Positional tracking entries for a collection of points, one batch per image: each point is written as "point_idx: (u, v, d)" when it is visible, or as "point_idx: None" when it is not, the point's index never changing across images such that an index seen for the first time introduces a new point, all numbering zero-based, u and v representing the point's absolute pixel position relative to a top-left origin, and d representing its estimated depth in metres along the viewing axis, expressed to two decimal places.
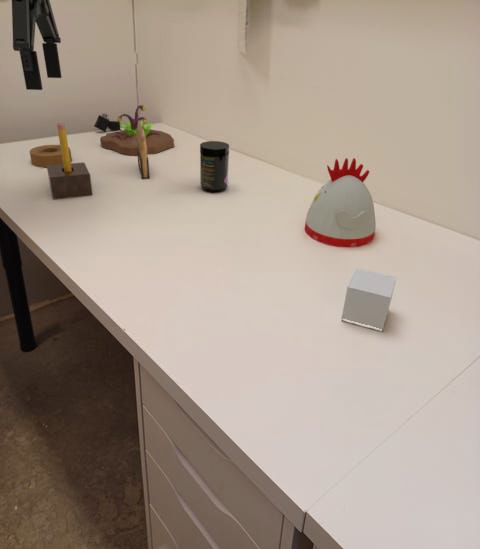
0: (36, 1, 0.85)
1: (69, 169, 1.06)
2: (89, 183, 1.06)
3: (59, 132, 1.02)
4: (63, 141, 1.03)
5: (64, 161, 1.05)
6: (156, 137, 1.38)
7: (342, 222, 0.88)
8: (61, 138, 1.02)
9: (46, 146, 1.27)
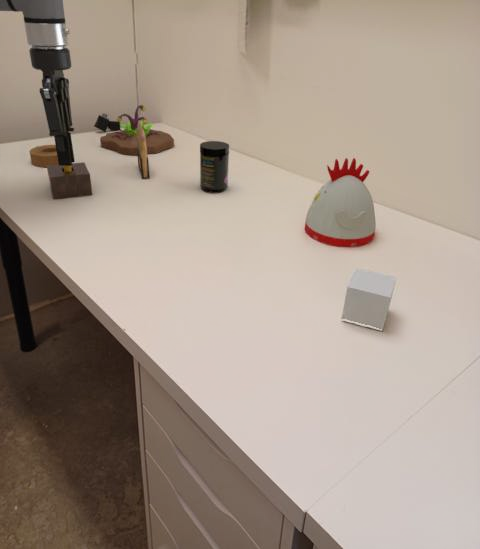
0: (60, 89, 0.96)
1: (69, 169, 1.06)
2: (89, 183, 1.06)
3: None
4: None
5: None
6: (156, 137, 1.38)
7: (342, 222, 0.88)
8: None
9: (46, 146, 1.27)
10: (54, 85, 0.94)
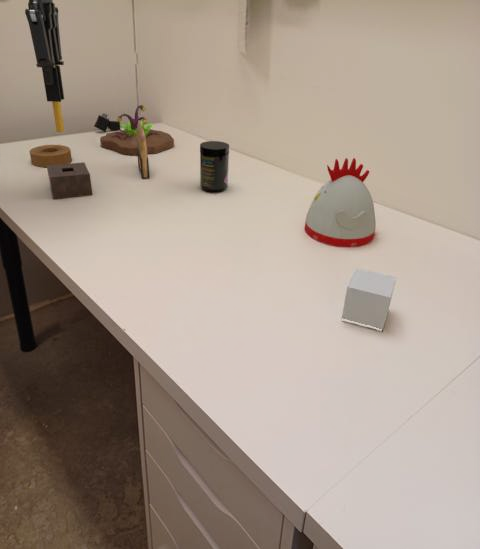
0: (48, 14, 0.90)
1: (58, 106, 1.00)
2: (89, 183, 1.06)
3: None
4: None
5: None
6: (156, 137, 1.38)
7: (342, 222, 0.88)
8: None
9: (46, 146, 1.27)
10: (41, 7, 0.88)
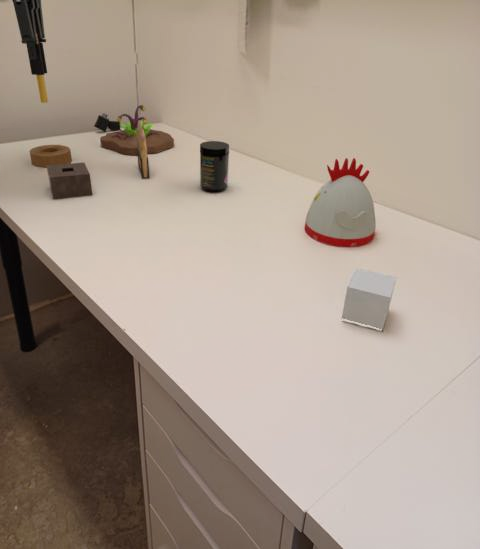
0: None
1: (42, 79, 1.12)
2: (89, 183, 1.06)
3: None
4: None
5: None
6: (156, 137, 1.38)
7: (342, 222, 0.88)
8: None
9: (46, 146, 1.27)
10: None
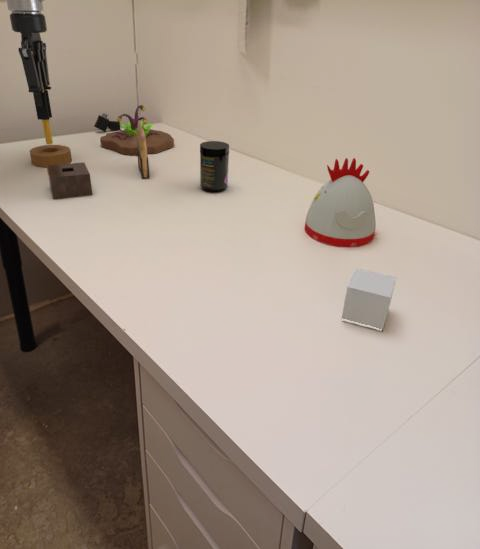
0: (37, 50, 1.11)
1: (47, 123, 1.21)
2: (89, 183, 1.06)
3: None
4: None
5: None
6: (156, 137, 1.38)
7: (342, 222, 0.88)
8: None
9: (46, 146, 1.27)
10: (31, 46, 1.09)
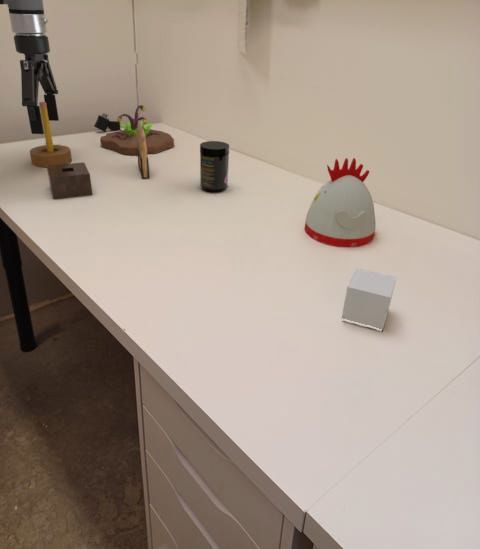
0: (39, 68, 1.12)
1: (50, 142, 1.23)
2: (89, 183, 1.06)
3: (41, 109, 1.19)
4: (45, 117, 1.20)
5: (46, 135, 1.22)
6: (156, 137, 1.38)
7: (342, 222, 0.88)
8: (43, 114, 1.19)
9: (46, 146, 1.27)
10: (35, 66, 1.11)
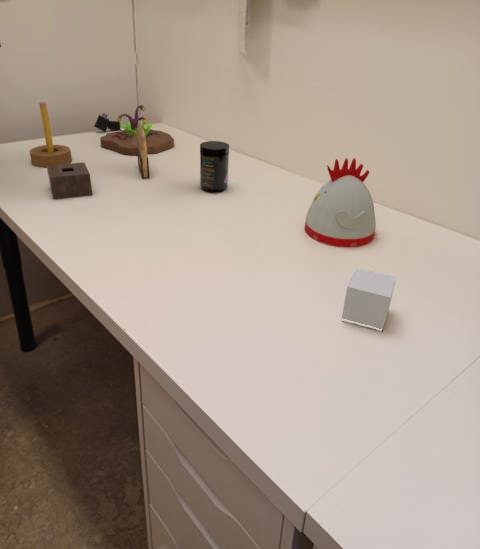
0: None
1: (50, 142, 1.23)
2: (89, 183, 1.06)
3: (41, 109, 1.19)
4: (45, 117, 1.20)
5: (46, 135, 1.22)
6: (156, 137, 1.38)
7: (342, 222, 0.88)
8: (43, 114, 1.19)
9: (46, 146, 1.27)
10: None
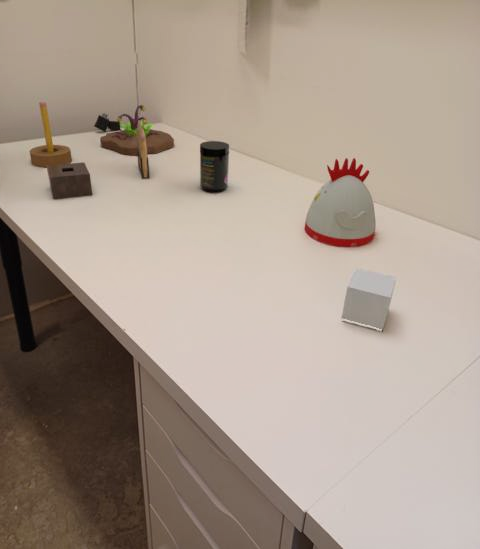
0: None
1: (50, 142, 1.23)
2: (89, 183, 1.06)
3: (41, 109, 1.19)
4: (45, 117, 1.20)
5: (46, 135, 1.22)
6: (156, 137, 1.38)
7: (342, 222, 0.88)
8: (43, 114, 1.19)
9: (46, 146, 1.27)
10: None
